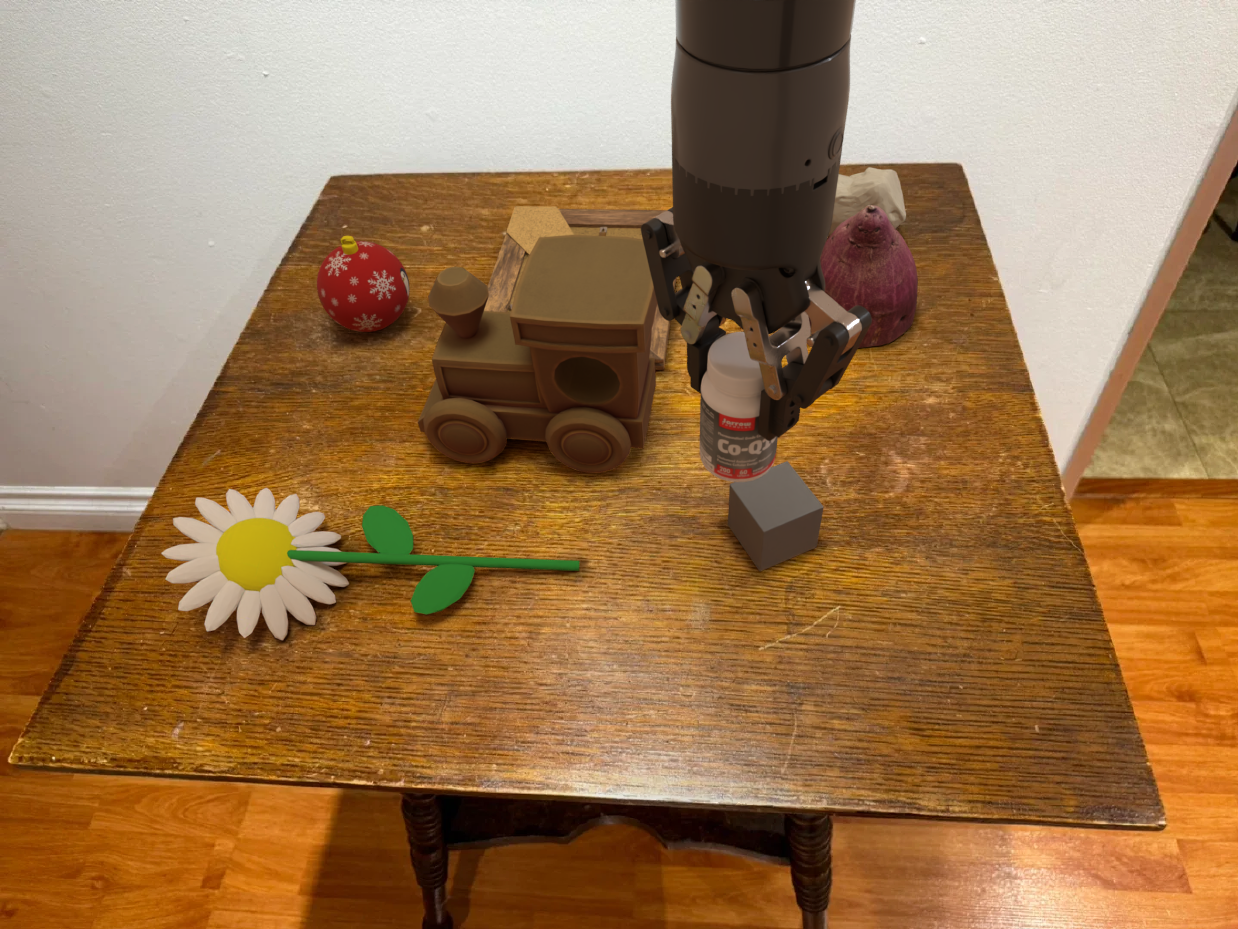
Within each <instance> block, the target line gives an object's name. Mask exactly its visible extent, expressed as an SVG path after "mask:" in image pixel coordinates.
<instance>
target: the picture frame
mask: <svg viewBox="0 0 1238 929" xmlns="http://www.w3.org/2000/svg"><path fill="white" fill-rule="evenodd" d="M667 210H668V209H600V208H597V209H596V208H595V209H594V208H591V209H590V208H558V206H545V205H544V206H543V205H540V206H538V205H515V206H514V208H513V211H512V214H511V217H510V219H509V223H508V226H507V229H506V233H505V236H504V238H503V241H502V245H501V246H500V247H501V248H500V249H499V252H498V256H497V258H496V261H495V263H494V267H493V270H492V273H491V275H490V278H489V281H488V285H487V287H488V292H489V297H488V300H487V303H486V306H485V309H484V311H494V312H511V310H512V305H513V301H514V297H515V292H516V288H517V286H518V283H519V280H520V278H521V275H522V272H523V270H524V267H525V264H526V262H527V259H528V257H529V255H530V253H531V251H532V249H533V248H534V246H535V244H536V242H537V240H538V239H539V237H551V236H564V235H590V236H615V237H631V238H637V239H643V238H642V234H641V226H642V225H643V224H644V223H646V222H648V221H649V220H651V219H653V218H655V217H656V216H658V215H660V214H661V213H663V212H665V211H667ZM676 282H677V278H675V280H674V282H673V287H674V291H675V289H676ZM670 327H671V321H667V320H666V319H664V318H663V317H662V315H661V314H660V311H659V308H658V304H657V308H656V313H655V318H654V323H653V327H652V337H651V346H650V355H649V358H655V371H656V370H657V371H664V370H665V366H666V359H667V358H666V357H667V351H668V343H669V335H670V329H671V328H670Z"/></svg>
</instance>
